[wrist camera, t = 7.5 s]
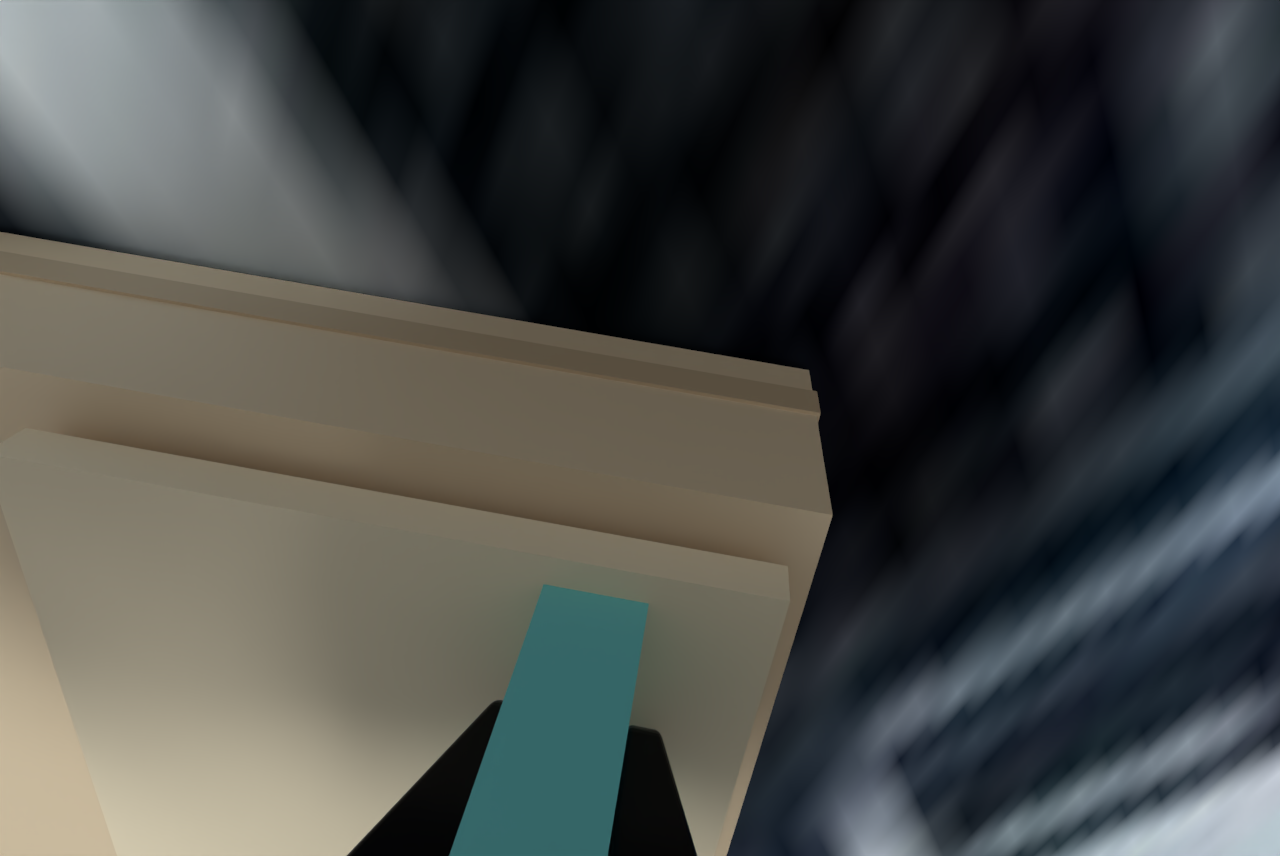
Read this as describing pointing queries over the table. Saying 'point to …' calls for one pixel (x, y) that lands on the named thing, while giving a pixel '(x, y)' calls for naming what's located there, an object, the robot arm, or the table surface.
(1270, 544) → the table surface
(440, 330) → the carton
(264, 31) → the table surface
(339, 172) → the table surface
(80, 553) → the flap
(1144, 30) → the table surface
